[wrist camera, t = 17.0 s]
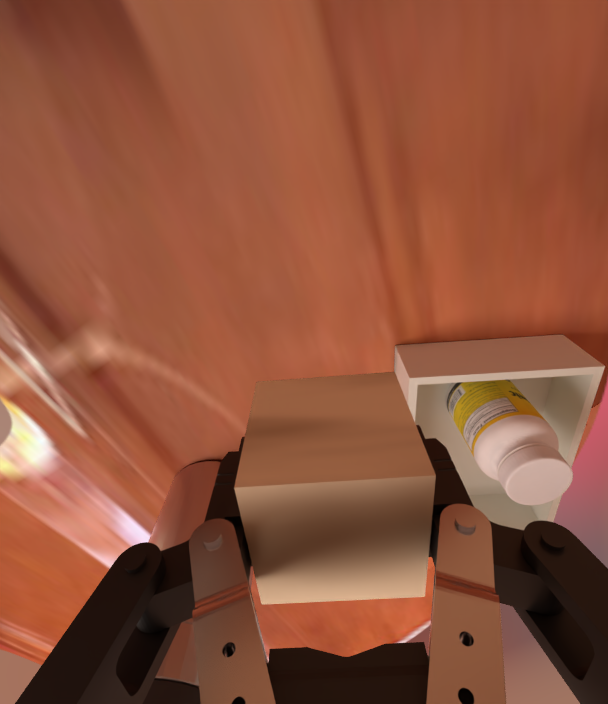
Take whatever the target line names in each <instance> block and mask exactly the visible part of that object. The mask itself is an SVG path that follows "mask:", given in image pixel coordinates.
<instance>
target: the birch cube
mask: <svg viewBox="0 0 608 704" xmlns="http://www.w3.org/2000/svg"><path fill="white" fill-rule="evenodd" d="M435 480H436V474H435V472H434V469H433V467H432V464H431V462H430V459H429V457H428V454H427V452H426V449H425V447H424V444H423V442H422V439H421V437H420V434H419V432H418V429H417V427H416V424H415V422H414V419H413V416H412V414H411V411H410V409H409V406H408V404H407V401H406V399H405V396H404V394H403V391H402V389H401V386H400V384H399V381H398V379H397V376H396V374H395V372H385V373H371V374H358V375H344V376H330V377H317V378H303V379H289V380H276V381H262V382H257V383H256V387H255V392H254V397H253V401H252V406H251V411H250V415H249V420H248V425H247V430H246V434H245V439H244V444H243V448H242V453H241V458H240V463H239V467H238V472H237V477H236V481H235V486H234V489H235V493H236V498H237V502H238V506H239V510H240V515H241V519H242V523H243V527H244V532H245V536H246V540H247V544H248V549H249V553H250V557H251V561H252V565H253V570H254V574H255V578H256V582H257V587H258V591H259V595H260V599H261V604H281V603H303V602H324V601H345V600H366V599H387V598H409V597H425V589H426V578H427V567H428V556H429V545H430V535H431V524H432V513H433V502H434V491H435Z"/></svg>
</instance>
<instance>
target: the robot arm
mask: <svg viewBox="0 0 608 704" xmlns="http://www.w3.org/2000/svg"><path fill="white" fill-rule="evenodd" d="M416 427H417V429H418V432H419V434H420V437H421V439H422V442H423V444H424V447H425V449H426V452H427V454H428V457H429V459H430V462H431V464H432V467H433V469H434V472H435V474H436V480H435V491H434V502H433V513H432V524H431V535H430V545H429V556H428V557H432V558H433V562H434V565H435V576H434V588H433V601H432V614H431V626H430V639H429V650H428V655H427V653H426V649H425V645H424V642H416V643H393V644H384V645H381V646H378V647H375V648H373V649H370V650H367V651H364V652H362V653H359V654H356V655H353V656H350V657H342V656H338V655H334V654H331V653H327V652H323V651H319V650H315V649H311V648H308V647H304V648H282V649H270V653H269V662H268V660H267V656H266V652H265V648H264V644H263V639H262V635H261V631H260V627H259V623H258V619H257V614H256V610H255V606H254V602H253V598H252V594H251V584H252V576H253V565H252V561H251V557H250V553H249V549H248V544H247V540H246V536H245V532H244V527H243V523H242V519H241V515H240V510H239V506H238V502H237V498H236V493H235V489H234V486H235V481H236V477H237V472H238V467H239V463H240V458H241V453H242V448H243V444H244V439H245V437H242V439H241V444H240V448H239V451H237V452H228V454H227V455H226V456H225V457H224V459H223V460H222V461H221V462H218V461H205V462H199V463H195V464H192V465H190V466H187V467H186V468H184V469H183V470H181V471H180V472H179V473H178V474H177V475H176V476H175V478H174V480H173V482H172V484H171V487H170V490H169V492H168V495H167V497H166V500H165V502H164V505H163V507H162V510H161V512H160V514H159V517H158V519H157V522H156V524H155V527H154V529H153V532H152V534H151V537H150V539H149V542H148V543H147V542H146V543H140V544H136V545H134V546H132V547H130V548H128V549H127V550H126V551H124V552H123V553H122V554H121V555H120V556H119V557H118V558H117V560H116V561H115V562H114V564H113V565H112V567H111V568H110V569H109V571H108V572H107V574H106V575H105V577H104V578H103V579H102V581H101V582H100V584H99V585H98V586H97V588H96V589H95V591H94V592H93V594H92V595H91V596H90V598H89V599H88V601H87V602H86V604H85V605H84V606H83V608H82V609H81V611H80V612H79V613H78V615H77V616H76V618H75V619H74V621H73V622H72V623H71V625H70V626H69V628H68V629H67V631H66V632H65V633H64V635H63V636H62V638H61V639H60V640H59V642H58V643H57V645H56V646H55V648H54V649H53V650H52V652H51V653H50V655H49V656H48V658H47V659H46V660H45V662H44V663H43V665H42V666H41V668H40V669H39V670H38V672H37V673H36V675H35V676H34V677H33V679H32V680H31V682H30V683H29V685H28V686H27V687H26V689H25V691H24V692H23V693H22V694H21V696H20V697H19V699H18V700H17V702H16V703H15V704H506V693H505V676H504V661H503V646H502V629H501V614H500V603H503V604H506V605H510V606H513V607H514V609H515V610H516V612H517V613H518V614H519V616H520V618H521V619H522V620H523V622H524V623H525V625H526V626H527V627H528V629H529V630H530V632H531V633H532V635H533V636H534V638H535V639H536V640H537V642H538V643H539V645H540V646H541V648H542V649H543V651H544V652H545V653H546V655H547V656H548V658H549V659H550V661H551V662H552V663H553V665H554V666H555V668H556V669H557V671H558V672H559V674H560V675H561V676H562V678H563V679H564V681H565V682H566V684H567V685H568V686H569V688H570V689H571V691H572V692H573V693H574V695H575V696H576V698H577V699H578V701H579V702H580V704H608V569H607V568H606V567H605V566H604V565H603V563H601V561H600V560H599V559H597V558H596V556H595V555H594V554H592V552H591V551H590V550H589V549H588V548H587V547H586V546H585V545H584V544H583V543H582V542H581V541H580V540H579V539H578V538H577V537H576V536H575V535H573V534H572V533H571V532H570V531H569V530H567V529H566V528H564V527H563V526H560V525H558V524H556V523H553V522H550V521H543V520H539V521H533V522H531V523H529V524H528V525H527V526H526V527H525V529H524V530H520V529H516V528H511V527H506V526H502V525H499V524H496V523H493V522H491V521H489V520H488V518H487V517H486V516H485V515H484V514H483V513H482V512H481V511H480V510H478V509H476V508H475V507H474V505H473V504H472V501H471V499H470V497H469V495H468V493H467V491H466V489H465V487H464V484H463V482H462V480H461V478H460V476H459V474H458V472H457V470H456V467H455V465H454V463H453V461H452V459H451V457H450V454H449V452H448V450H447V448H446V447H445V446H444V445H443V444H442V443H441V442H440V441H438V440H437V439H436V438H429V439H425V437H424V435H423V432H422V430H421V427H420V426H419V425H416Z"/></svg>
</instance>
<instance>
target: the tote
mask: <svg viewBox="0 0 608 704" xmlns="http://www.w3.org/2000/svg"><path fill="white" fill-rule="evenodd" d="M604 368H605V366H604V365H603V364H602V363H600V362H599V361H598V360H596V359H595V358H594V357H592V356H591V355H590V354H588V353H587V352H586V351H584V350H583V349H582V348H580V347H579V346H578V345H576V344H575V343H574V342H572V341H571V340H570V339H568V338H567V337H566V336H564V335H563V334H562V335H546V336H531V337H515V338H500V339H485V340H469V341H454V342H438V343H423V344H408V345H395V364H394V372H395V374H396V376H397V379H398V381H399V384H400V386H401V389H402V391H403V394H404V396H405V399H406V401H407V404H408V406H409V409H410V411H411V414H412V416H413V419H414V422H415V424H416V425H419V426H420V427H421V430H422V432H423V435H424V437H425V439H429V438H436V439H437V440H438V441H440V442H441V443H442V444H443V445H444V446H445V447H446V448H447V450H448V452H449V454H450V457H451V459H452V461H453V463H454V465H455V467H456V470H457V472H458V474H459V476H460V478H461V480H462V482H463V484H464V487H465V489H466V491H467V493H468V495H469V497H470V499H471V501H472V504H473V505H474V507H475V508H476V509H478V510H480V511H481V512H482V513H483V514H484V515H485V516H486V517H487V518H488V520H489V521H491V522H493V523H496V524H499V525H502V526H506V527H511V528H516V529H520V530H524V529H525V527H526V526H527V525H528V524H529V523H531V522H533V521H539V520H543V521H550V522H553V521H554V518H555V515H556V512H557V509H558V506H559V503H560V500H561V497H562V495H561V496H559V497H558V498H556V499H554V500H552V501H550V502H548V503H544V504H540V505H523V504H519V503H517V502H515V501H513V500H512V499H511V498H510V497H509V496H508V495H507V493H506V492H505V490H504V488H503V487H502V485H501V483H500V481H497V480H494V479H492V478H490V477H489V476H487V475H486V474H485V473H484V472H483V471H482V470H481V469H480V468H479V466H478V464H477V463H476V461H475V459H474V457H473V455H472V453H471V452H470V450H469V448H468V446H467V444H466V443H465V441H464V439H463V437H462V435H461V434H460V432H459V430H458V428H457V426H456V425H455V423H454V421H453V419H452V417H451V416H450V414H449V412H448V410H447V407H446V394H447V391H448V389H449V387H450V385H451V384H452V383H458V382H475V381H491V380H508V379H509V380H510V381H511V382H512V383H513V384H514V385H515V386H516V388H517V389H518V390H519V391H520V392H521V393H522V394H523V395H524V396H525V397H526V399H527V400H528V401H529V402H530V403H531V404H532V405H533V406H534V408H535V409H536V410H537V411H538V412H539V413H540V414H541V416H542V417H543V418H544V419H545V420H546V421H547V422H548V423H549V425H550V426H551V427H552V428H553V430H554V431H555V433H556V435H557V437H558V442H559V449H558V452H559V453H560V454H561V455H562V457H563V458H564V459H565V461H566V462H567V463H568V464H569V465H570V467H572V464H573V461H574V458H575V455H576V452H577V449H578V446H579V443H580V440H581V437H582V434H583V431H584V428H585V425H586V422H587V419H588V416H589V413H590V410H591V407H592V404H593V401H594V398H595V395H596V392H597V389H598V386H599V383H600V380H601V377H602V374H603V371H604Z"/></svg>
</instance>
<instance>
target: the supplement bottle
mask: <svg viewBox="0 0 608 704" xmlns="http://www.w3.org/2000/svg"><path fill="white" fill-rule="evenodd" d="M446 407H447V410H448V412H449V414H450V416H451V417H452V419H453V421H454V423H455V425H456V426H457V428H458V430H459V432H460V434H461V435H462V437H463V439H464V441H465V443H466V444H467V446H468V448H469V450H470V452H471V453H472V455H473V457H474V459H475V461H476V463H477V464H478V466H479V468H480V469H481V470H482V471H483V472H484V473H485V474H486V475H487V476H489V477H490V478H492V479H494V480H497V481H500V483H501V485H502V487H503V488H504V490H505V492H506V493H507V495H508V496H509V497H510V498H511V499H512V500H513V501H515V502H517V503H519V504H523V505H540V504H544V503H548V502H550V501H552V500H554V499H556V498H558V497H559V496H561V495H562V494H563V493H564V492H565V491H566V490H567V489H568V488H569V486H570V484H571V482H572V479H573V472H572V469H571V467H570V465H569V464H568V463H567V462H566V461H565V459H564V458H563V457H562V455H561V454H560V453H559V452H558V449H559V442H558V437H557V435H556V433H555V431H554V430H553V428H552V427H551V426H550V425H549V423H548V422H547V421H546V420H545V419H544V418H543V417H542V416H541V414H540V413H539V412H538V411H537V410H536V409H535V408H534V406H533V405H532V404H531V403H530V402H529V401H528V400H527V399H526V397H525V396H524V395H523V394H522V393H521V392H520V391H519V390H518V389H517V388H516V386H515V385H514V384H513V383H512V382H511V381H510V380H509V379H508V380H491V381H475V382H458V383H452V384H451V385H450V387H449V389H448V391H447V394H446Z"/></svg>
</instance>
